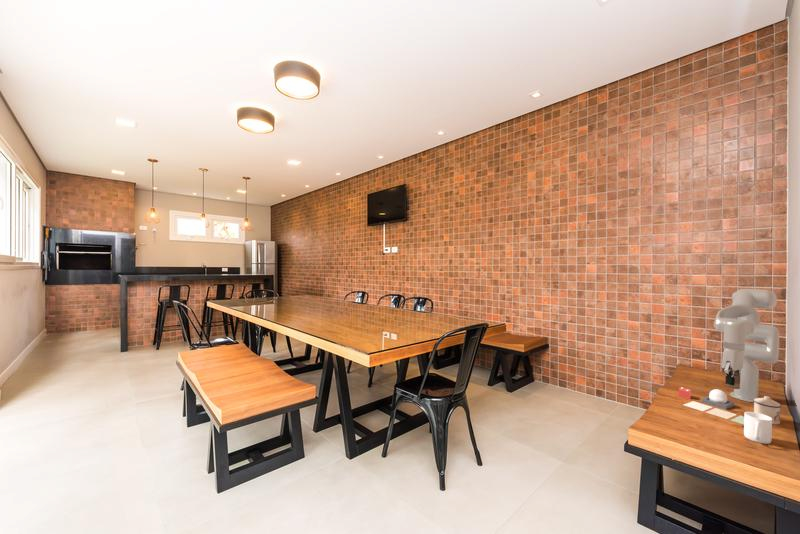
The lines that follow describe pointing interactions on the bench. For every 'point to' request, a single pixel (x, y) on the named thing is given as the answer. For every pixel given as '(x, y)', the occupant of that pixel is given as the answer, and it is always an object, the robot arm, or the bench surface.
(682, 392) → the red die
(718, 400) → the dome
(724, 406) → the dome housing
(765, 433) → the cup
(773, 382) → the bench surface
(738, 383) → the pawn
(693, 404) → the game board
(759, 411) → the teacup with lid
